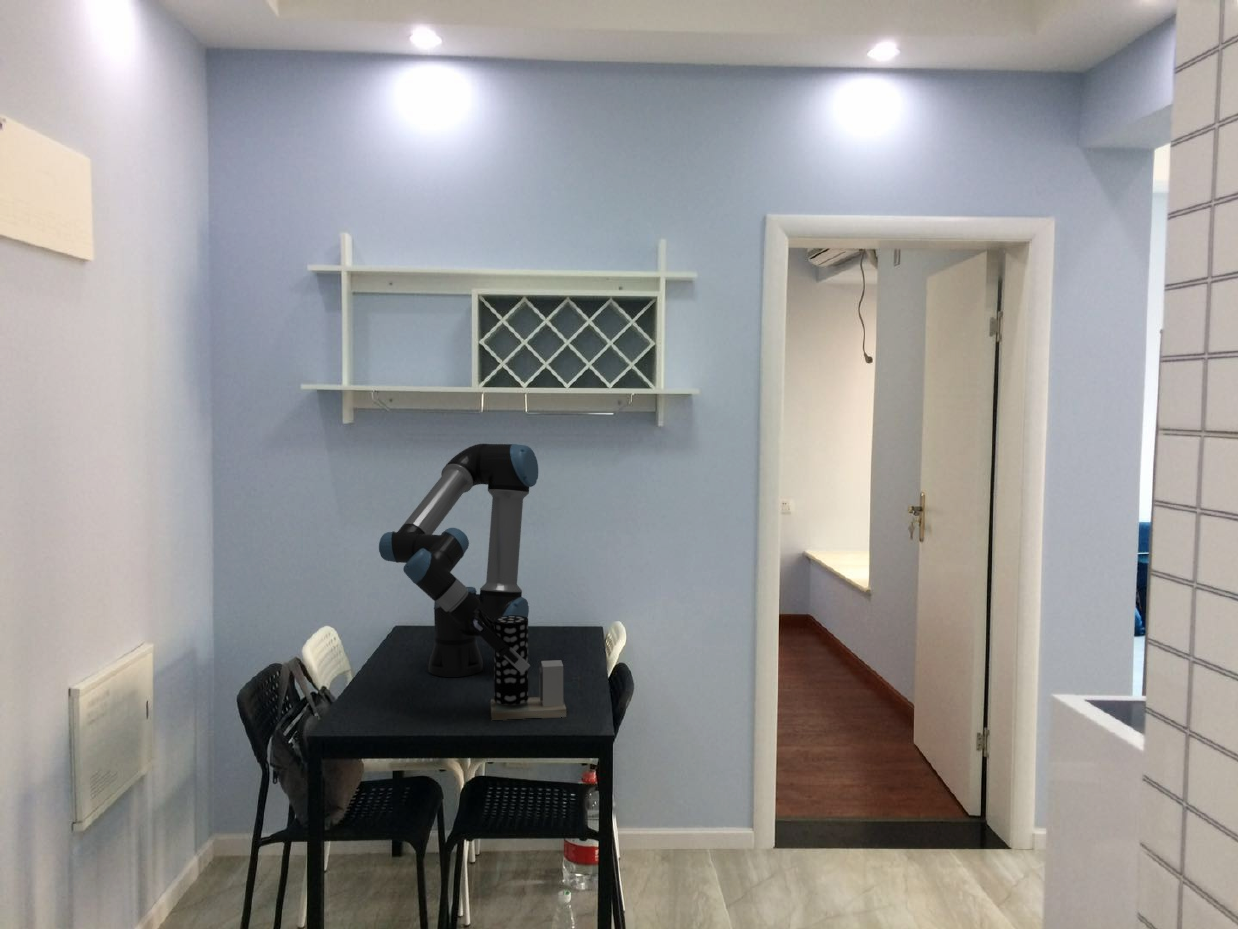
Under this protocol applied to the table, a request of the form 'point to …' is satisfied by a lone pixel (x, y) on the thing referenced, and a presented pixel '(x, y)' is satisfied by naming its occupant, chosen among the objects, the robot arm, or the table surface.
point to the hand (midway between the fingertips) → (524, 664)
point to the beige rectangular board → (526, 710)
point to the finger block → (551, 683)
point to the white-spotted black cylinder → (506, 677)
